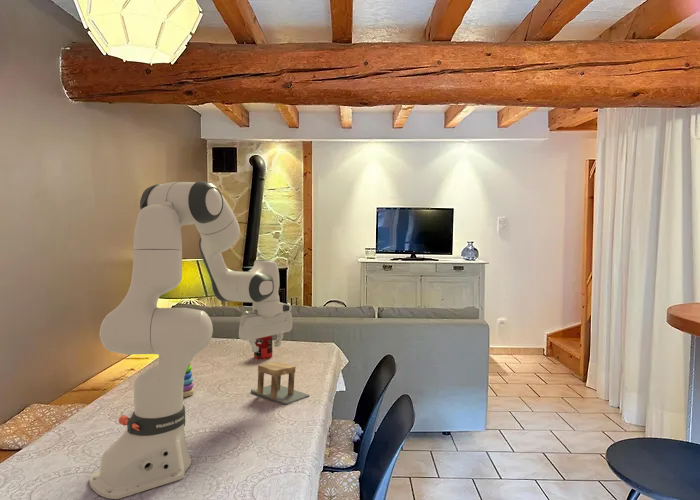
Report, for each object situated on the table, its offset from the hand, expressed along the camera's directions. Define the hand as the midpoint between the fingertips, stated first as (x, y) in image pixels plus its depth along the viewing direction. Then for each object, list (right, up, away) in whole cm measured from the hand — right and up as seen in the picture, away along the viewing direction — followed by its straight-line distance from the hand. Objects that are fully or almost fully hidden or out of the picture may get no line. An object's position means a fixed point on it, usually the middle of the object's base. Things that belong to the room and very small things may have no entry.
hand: (266, 349), depth 167 cm
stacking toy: (-30, -17, +5) cm, 35 cm away
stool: (0, -11, 0) cm, 11 cm away
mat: (+4, -17, +5) cm, 18 cm away
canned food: (-10, -14, +52) cm, 54 cm away
